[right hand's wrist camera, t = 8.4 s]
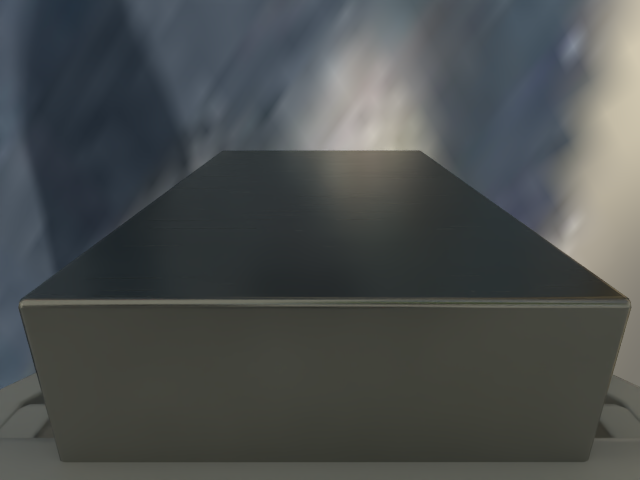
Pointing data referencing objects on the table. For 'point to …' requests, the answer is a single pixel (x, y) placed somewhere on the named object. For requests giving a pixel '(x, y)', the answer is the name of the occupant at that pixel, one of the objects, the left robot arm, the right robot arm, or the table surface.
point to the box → (324, 323)
